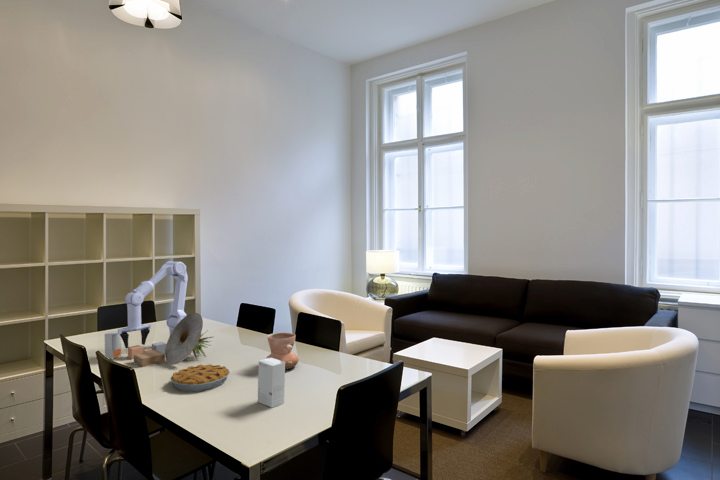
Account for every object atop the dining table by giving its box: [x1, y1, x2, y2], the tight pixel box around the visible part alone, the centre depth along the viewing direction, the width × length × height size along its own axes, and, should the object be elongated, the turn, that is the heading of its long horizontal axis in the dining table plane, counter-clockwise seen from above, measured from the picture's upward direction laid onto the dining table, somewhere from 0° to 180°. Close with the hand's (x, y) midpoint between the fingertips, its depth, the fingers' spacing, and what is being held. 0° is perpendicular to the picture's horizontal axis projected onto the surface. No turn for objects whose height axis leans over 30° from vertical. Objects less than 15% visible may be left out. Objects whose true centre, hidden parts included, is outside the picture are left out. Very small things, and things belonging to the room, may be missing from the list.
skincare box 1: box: [104, 330, 122, 360], centre depth 212 cm, size 6×4×12 cm
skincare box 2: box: [257, 357, 286, 408], centre depth 156 cm, size 8×6×15 cm
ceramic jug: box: [265, 332, 300, 371], centre depth 195 cm, size 18×14×14 cm
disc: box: [165, 312, 213, 366], centre depth 210 cm, size 25×18×25 cm
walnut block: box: [133, 350, 166, 368], centre depth 204 cm, size 10×10×4 cm
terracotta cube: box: [127, 344, 144, 360], centre depth 212 cm, size 5×5×5 cm
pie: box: [170, 364, 231, 392], centre depth 177 cm, size 22×22×5 cm
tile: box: [143, 346, 152, 353], centre depth 222 cm, size 7×7×1 cm
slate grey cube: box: [151, 341, 167, 354], centre depth 218 cm, size 5×5×5 cm
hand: (135, 346), depth 212 cm, fingers open, 7 cm apart
